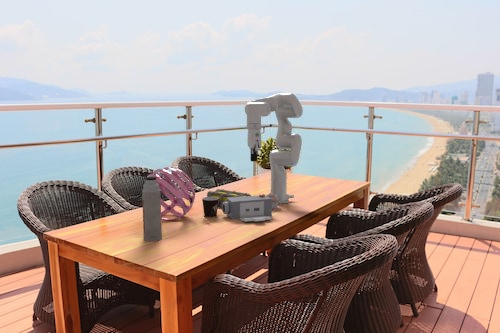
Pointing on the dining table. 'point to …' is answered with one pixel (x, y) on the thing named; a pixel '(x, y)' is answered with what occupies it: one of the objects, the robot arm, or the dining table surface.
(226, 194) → the cage light
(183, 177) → the spiral basket
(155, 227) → the thermos bottle
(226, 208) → the block
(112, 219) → the dining table surface
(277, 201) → the cupcake
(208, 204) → the coffee mug
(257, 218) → the side door
